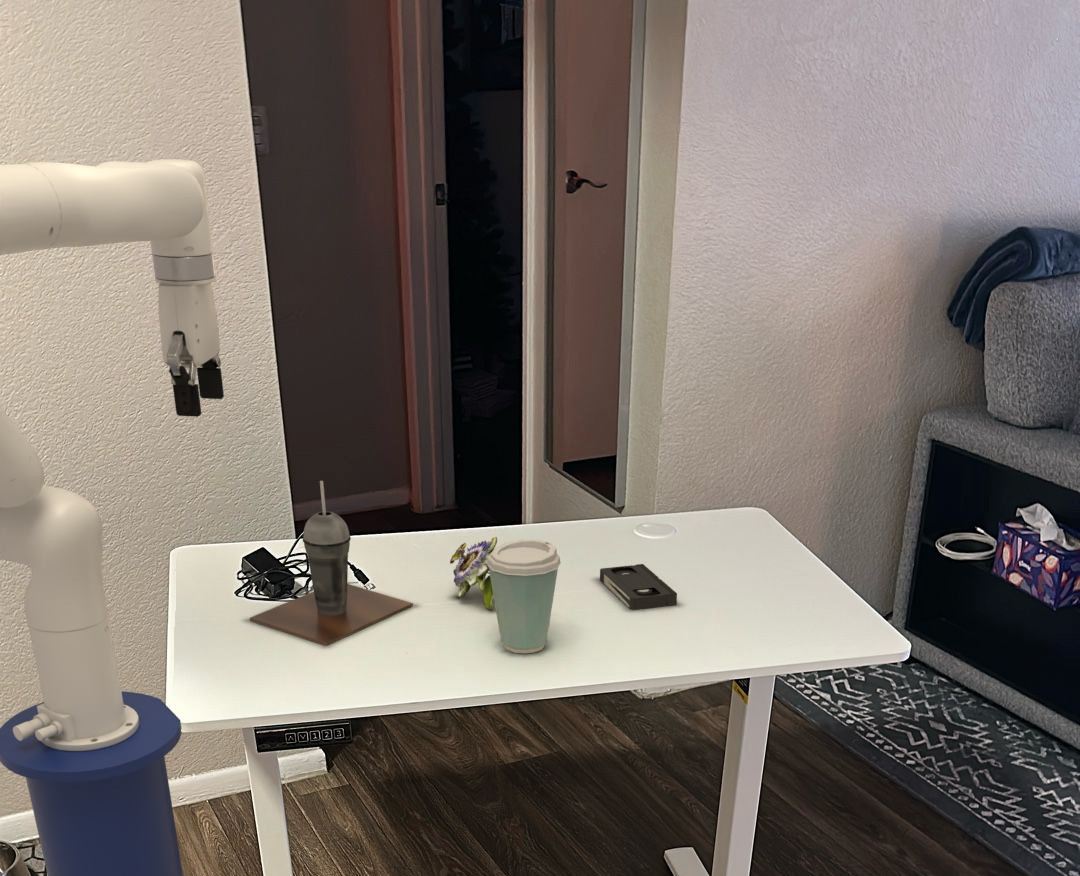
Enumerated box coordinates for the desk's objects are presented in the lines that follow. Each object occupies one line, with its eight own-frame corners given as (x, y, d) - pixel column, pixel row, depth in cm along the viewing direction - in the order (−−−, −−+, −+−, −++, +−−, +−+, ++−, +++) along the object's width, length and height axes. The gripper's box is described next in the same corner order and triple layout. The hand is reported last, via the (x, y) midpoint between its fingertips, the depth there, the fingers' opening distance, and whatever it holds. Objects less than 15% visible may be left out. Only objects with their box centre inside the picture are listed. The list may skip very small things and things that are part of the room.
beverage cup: (311, 621, 196) (301, 492, 186) (305, 603, 202) (294, 478, 192) (358, 616, 198) (350, 488, 188) (351, 599, 204) (343, 474, 194)
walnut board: (326, 646, 190) (325, 642, 189) (249, 620, 197) (249, 617, 197) (413, 606, 204) (412, 603, 203) (338, 583, 211) (338, 581, 211)
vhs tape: (598, 579, 215) (599, 568, 214) (642, 575, 217) (642, 563, 216) (630, 610, 204) (631, 598, 202) (676, 605, 206) (677, 593, 205)
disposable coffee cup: (512, 665, 185) (513, 565, 177) (473, 640, 192) (472, 543, 184) (572, 649, 190) (575, 552, 182) (531, 626, 197) (533, 531, 190)
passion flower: (462, 628, 210) (439, 559, 210) (524, 610, 212) (501, 541, 212) (470, 613, 199) (446, 540, 199) (535, 594, 201) (511, 521, 201)
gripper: (178, 258, 170) (194, 391, 179) (131, 278, 156) (151, 421, 165) (233, 260, 170) (246, 393, 179) (191, 280, 155) (208, 424, 164)
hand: (200, 406), depth 172 cm, fingers open, 9 cm apart
